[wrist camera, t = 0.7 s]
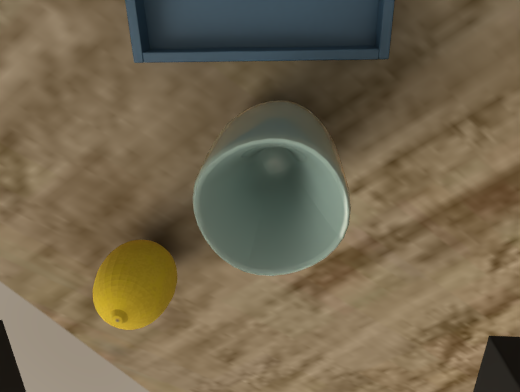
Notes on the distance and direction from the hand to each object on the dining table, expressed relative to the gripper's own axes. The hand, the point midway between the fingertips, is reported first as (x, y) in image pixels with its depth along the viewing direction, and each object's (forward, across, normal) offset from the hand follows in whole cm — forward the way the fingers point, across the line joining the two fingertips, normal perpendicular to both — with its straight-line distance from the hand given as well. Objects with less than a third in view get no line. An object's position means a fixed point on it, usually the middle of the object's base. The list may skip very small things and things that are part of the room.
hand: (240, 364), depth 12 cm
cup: (+20, +1, 0) cm, 20 cm away
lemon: (+20, -9, -9) cm, 24 cm away
